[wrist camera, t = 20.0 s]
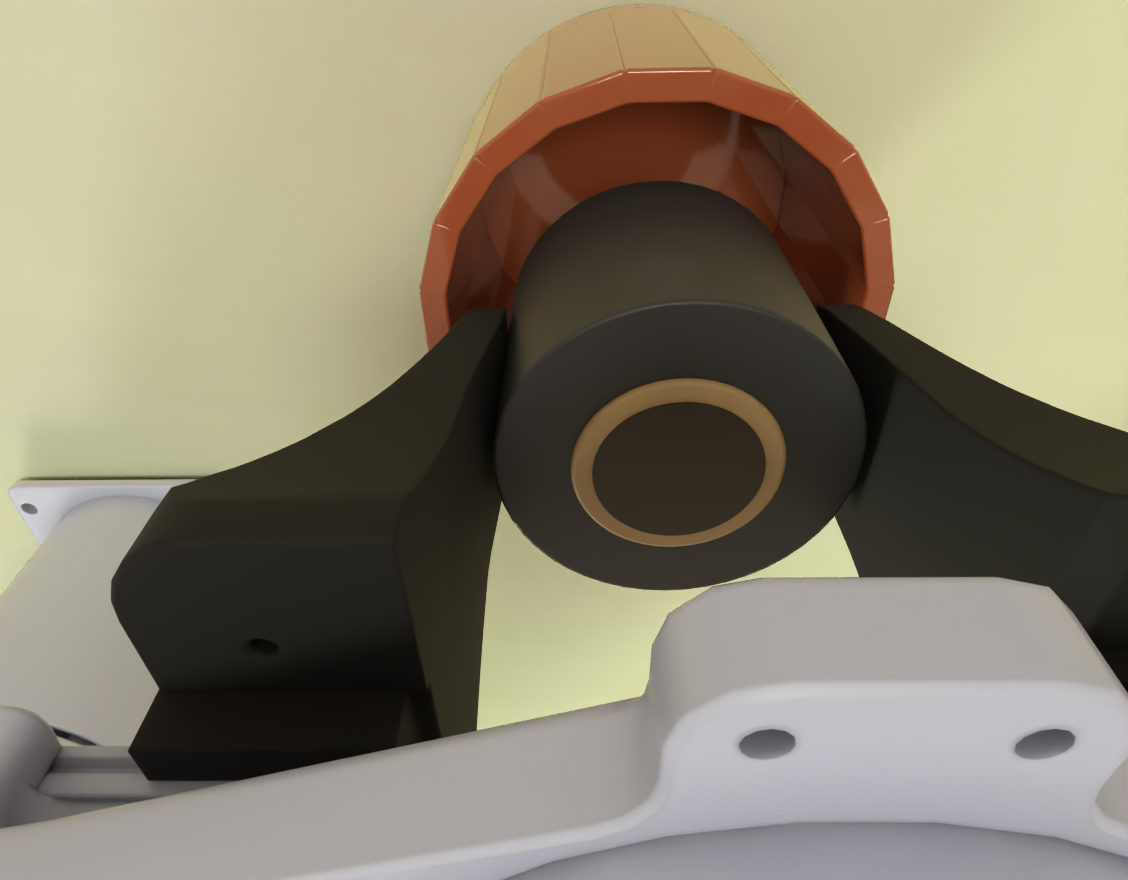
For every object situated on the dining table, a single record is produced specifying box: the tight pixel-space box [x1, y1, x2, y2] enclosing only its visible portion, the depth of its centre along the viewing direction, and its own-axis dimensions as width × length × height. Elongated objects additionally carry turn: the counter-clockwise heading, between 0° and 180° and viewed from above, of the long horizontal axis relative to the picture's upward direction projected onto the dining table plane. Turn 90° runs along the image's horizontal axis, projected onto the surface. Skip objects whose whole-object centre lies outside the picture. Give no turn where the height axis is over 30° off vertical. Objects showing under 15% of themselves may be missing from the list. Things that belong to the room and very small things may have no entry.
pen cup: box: [420, 4, 895, 352], centre depth 16 cm, size 9×9×7 cm
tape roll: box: [493, 180, 867, 590], centre depth 12 cm, size 5×5×4 cm
